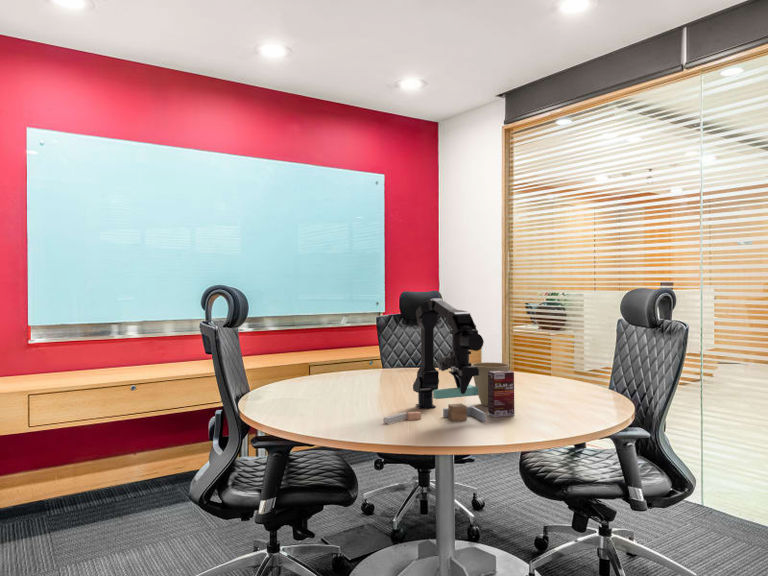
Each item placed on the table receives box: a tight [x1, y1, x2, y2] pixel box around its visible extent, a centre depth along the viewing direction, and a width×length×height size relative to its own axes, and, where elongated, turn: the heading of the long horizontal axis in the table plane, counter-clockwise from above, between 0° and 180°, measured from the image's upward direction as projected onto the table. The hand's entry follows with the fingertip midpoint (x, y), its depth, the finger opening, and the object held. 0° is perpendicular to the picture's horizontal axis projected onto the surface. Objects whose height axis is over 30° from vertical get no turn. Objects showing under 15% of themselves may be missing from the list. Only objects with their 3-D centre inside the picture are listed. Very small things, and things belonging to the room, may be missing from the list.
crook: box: [433, 384, 478, 400], centre depth 190 cm, size 9×16×3 cm, turn 109°
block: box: [447, 402, 468, 422], centre depth 192 cm, size 5×5×5 cm
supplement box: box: [487, 370, 515, 418], centre depth 197 cm, size 9×5×16 cm, turn 106°
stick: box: [383, 412, 408, 425], centre depth 191 cm, size 2×10×2 cm, turn 136°
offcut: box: [406, 411, 422, 421], centre depth 193 cm, size 2×4×2 cm, turn 101°
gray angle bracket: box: [442, 405, 486, 422], centre depth 192 cm, size 12×12×3 cm
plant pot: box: [471, 362, 510, 407], centre depth 215 cm, size 15×15×16 cm
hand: (461, 393), depth 187 cm, fingers closed on crook, 3 cm apart
